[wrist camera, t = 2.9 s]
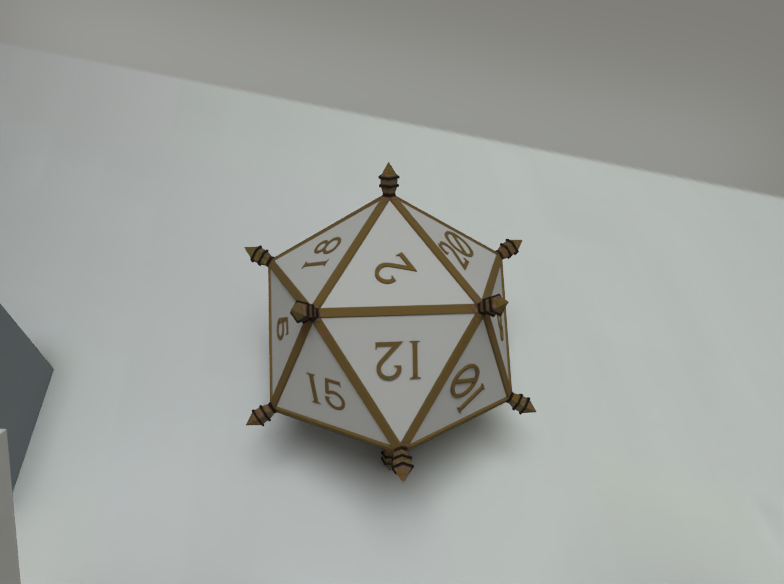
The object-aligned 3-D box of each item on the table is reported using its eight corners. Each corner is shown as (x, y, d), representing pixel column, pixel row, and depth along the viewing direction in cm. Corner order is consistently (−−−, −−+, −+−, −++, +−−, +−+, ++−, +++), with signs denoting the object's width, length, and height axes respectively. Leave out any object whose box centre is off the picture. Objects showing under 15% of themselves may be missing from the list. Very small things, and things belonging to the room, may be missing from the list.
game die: (357, 381, 29) (351, 128, 25) (563, 442, 25) (591, 150, 21) (193, 502, 22) (152, 174, 18) (442, 616, 18) (454, 221, 14)
